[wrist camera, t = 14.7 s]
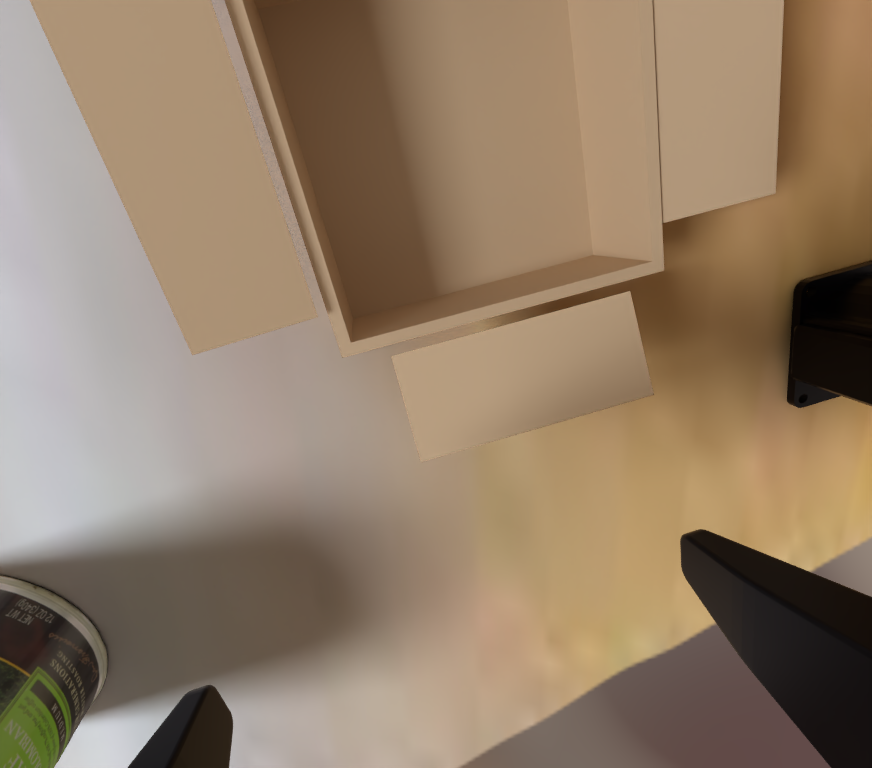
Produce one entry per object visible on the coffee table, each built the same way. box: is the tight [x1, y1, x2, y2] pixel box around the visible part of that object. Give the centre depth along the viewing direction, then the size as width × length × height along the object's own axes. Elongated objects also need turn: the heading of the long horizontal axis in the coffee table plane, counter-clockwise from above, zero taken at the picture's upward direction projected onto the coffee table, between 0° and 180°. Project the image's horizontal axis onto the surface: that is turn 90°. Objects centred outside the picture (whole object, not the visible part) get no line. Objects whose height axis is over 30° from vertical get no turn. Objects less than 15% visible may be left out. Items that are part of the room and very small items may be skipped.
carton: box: [225, 0, 784, 358], centre depth 14 cm, size 15×15×4 cm
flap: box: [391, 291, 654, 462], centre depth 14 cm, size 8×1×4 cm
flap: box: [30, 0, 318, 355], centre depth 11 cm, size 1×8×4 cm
